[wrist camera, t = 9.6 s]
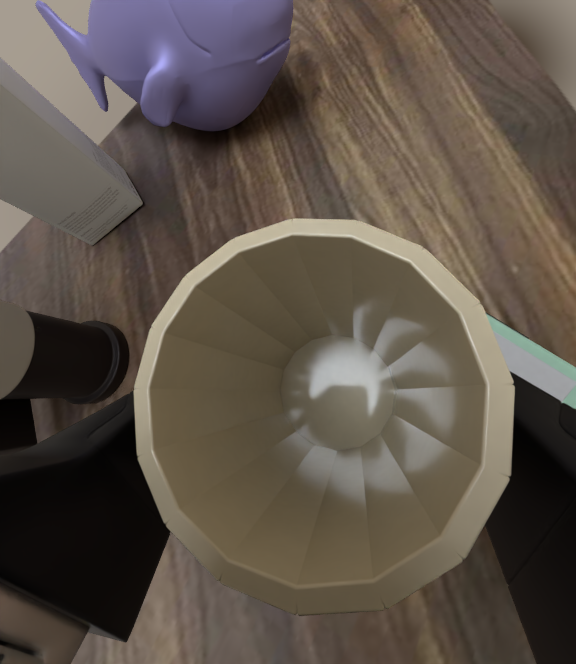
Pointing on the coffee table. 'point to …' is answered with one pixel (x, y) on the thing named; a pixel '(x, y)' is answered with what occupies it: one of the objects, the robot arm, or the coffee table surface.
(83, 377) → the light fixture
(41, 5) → the toy whale
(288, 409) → the beige cup
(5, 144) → the cosmetic box
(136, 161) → the coffee table surface
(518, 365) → the scale
